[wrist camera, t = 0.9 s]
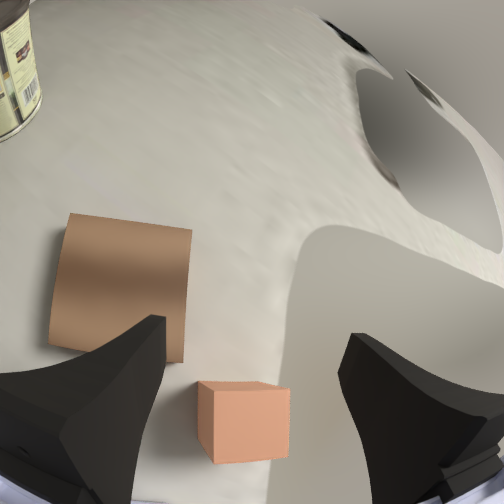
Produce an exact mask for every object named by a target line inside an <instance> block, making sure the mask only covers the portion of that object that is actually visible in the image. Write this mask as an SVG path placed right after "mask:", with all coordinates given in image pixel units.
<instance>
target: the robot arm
mask: <svg viewBox="0 0 504 504" xmlns="http://www.w3.org/2000/svg"><path fill="white" fill-rule="evenodd" d="M166 360H167V353H166V316H159V315H153V314H150V315H149V316H147V317H146V318H144V319H143V320H141V321H140V322H139V323H137V324H136V325H134V326H133V327H131V328H130V329H128V330H127V331H125V332H124V333H122V334H121V335H119V336H118V337H116V338H114V339H113V340H111V341H109V342H107V343H106V344H104V345H102V346H101V347H99V348H97V349H95V350H93V351H91V352H88V353H86V354H84V355H82V356H79V357H77V358H74V359H71V360H68V361H65V362H62V363H59V364H56V365H53V366H49V367H44V368H40V369H35V370H29V371H23V372H12V373H0V504H167V503H160V502H144V501H133V500H131V496H132V489H133V482H134V475H135V469H136V464H137V458H138V453H139V448H140V444H141V439H142V434H143V431H144V428H145V424H146V422H147V419H148V416H149V413H150V411H151V408H152V405H153V403H154V400H155V398H156V395H157V392H158V390H159V387H160V384H161V381H162V378H163V373H164V369H165V365H166ZM338 377H339V381H340V386H341V389H342V393H343V396H344V398H345V400H346V403H347V406H348V408H349V411H350V413H351V415H352V418H353V420H354V423H355V425H356V428H357V430H358V433H359V435H360V438H361V441H362V445H363V449H364V453H365V457H366V461H367V467H368V472H369V477H370V485H371V493H372V504H504V455H503V456H502V457H501V458H499V457H498V455H497V453H499V451H500V447H499V446H498V442H499V441H500V440H501V439H502V438H503V436H504V395H503V394H495V393H488V392H483V391H479V390H474V389H471V388H467V387H463V386H461V385H458V384H455V383H452V382H450V381H447V380H445V379H442V378H440V377H438V376H436V375H434V374H431V373H429V372H427V371H426V370H424V369H422V368H420V367H418V366H417V365H415V364H413V363H411V362H410V361H408V360H407V359H405V358H403V357H402V356H400V355H399V354H397V353H396V352H394V351H393V350H391V349H390V348H388V347H387V346H385V345H383V344H382V343H381V342H379V341H377V340H376V339H374V338H372V337H371V336H369V335H367V334H365V333H351V336H350V339H349V342H348V345H347V348H346V350H345V354H344V356H343V359H342V362H341V364H340V368H339V370H338Z"/></svg>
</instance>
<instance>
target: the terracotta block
mask: <svg viewBox="0 0 504 504" xmlns="http://www.w3.org/2000/svg"><path fill="white" fill-rule="evenodd" d="M289 419H290V389H288V388H284V387H279V386H275V385H270V384H266V383H262V382H215V381H198V440H199V442H200V443H201V445H202V446H203V448H204V450H205V451H206V453H207V454H208V456H209V458H210V459H211V461H212V462H213V464H229V463H242V462H253V461H262V460H270V459H277V458H283V457H288V447H289Z"/></svg>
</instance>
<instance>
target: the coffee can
mask: <svg viewBox="0 0 504 504" xmlns="http://www.w3.org/2000/svg"><path fill="white" fill-rule="evenodd" d="M29 2H30V0H0V142H2V141H4V140H6V139H8V138H10V137H11V136H13V135H14V134H16V133H18V132H19V131H20V130H21V129H22V128H24V127H25V126H26V125H27V124H28V123H29V122H30V121H31V120H32V118H33V117H34V116H35V114H36V113H37V111H38V110H39V108H40V106H41V103H42V97H43V95H42V91H41V88H40V84H39V78H38V74H37V68H36V63H35V57H34V51H33V44H32V35H31V27H30V17H29Z"/></svg>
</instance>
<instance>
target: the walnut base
mask: <svg viewBox="0 0 504 504" xmlns="http://www.w3.org/2000/svg"><path fill="white" fill-rule="evenodd" d="M191 238H192V230H190V229H183V228H176V227H169V226H162V225H155V224H148V223H141V222H134V221H126V220H119V219H112V218H104V217H97V216H89V215H82V214H74V213H70V216H69V220H68V223H67V227H66V231H65V235H64V240H63V244H62V249H61V253H60V258H59V263H58V268H57V274H56V280H55V286H54V292H53V300H52V307H51V316H50V326H49V338H48V344H51V345H55V346H60V347H65V348H70V349H75V350H81V351H86V352H91V351H93V350H95V349H97V348H99V347H101V346H102V345H104V344H106V343H107V342H109V341H111V340H113V339H114V338H116V337H118V336H119V335H121V334H122V333H124V332H125V331H127V330H128V329H130V328H131V327H133V326H134V325H136V324H137V323H139V322H140V321H141V320H143V319H144V318H146V317H147V316H149V315H150V314H153V315H159V316H166V353H167V360H166V362H175V363H183V354H184V331H185V313H186V297H187V283H188V271H189V259H190V248H191Z"/></svg>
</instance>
